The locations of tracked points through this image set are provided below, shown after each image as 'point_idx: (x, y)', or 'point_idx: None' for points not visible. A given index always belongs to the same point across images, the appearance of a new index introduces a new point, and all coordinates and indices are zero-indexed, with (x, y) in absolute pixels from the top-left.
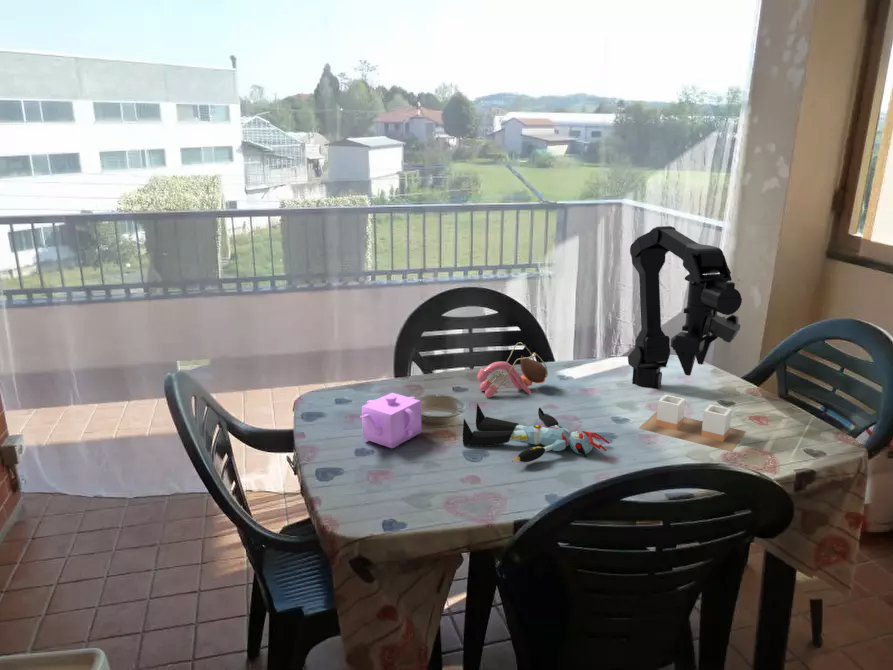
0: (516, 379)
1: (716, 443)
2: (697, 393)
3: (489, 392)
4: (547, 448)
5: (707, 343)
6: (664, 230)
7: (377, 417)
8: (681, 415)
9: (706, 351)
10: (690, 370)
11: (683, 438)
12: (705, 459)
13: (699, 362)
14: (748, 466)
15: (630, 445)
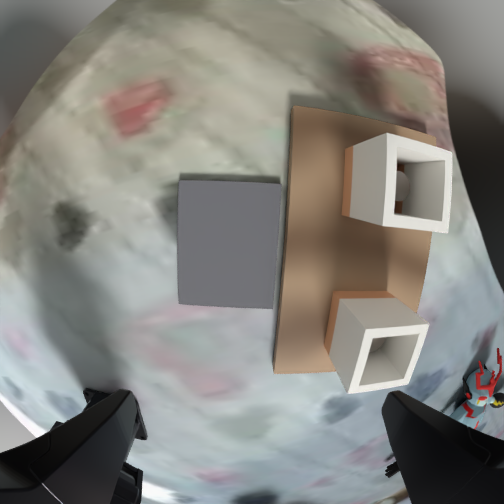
0: None
1: None
2: (58, 308)
3: None
4: (493, 399)
5: (44, 495)
6: None
7: None
8: (369, 304)
9: (80, 446)
10: (425, 407)
11: (423, 259)
12: (458, 191)
13: (133, 411)
14: (442, 104)
15: (447, 340)
